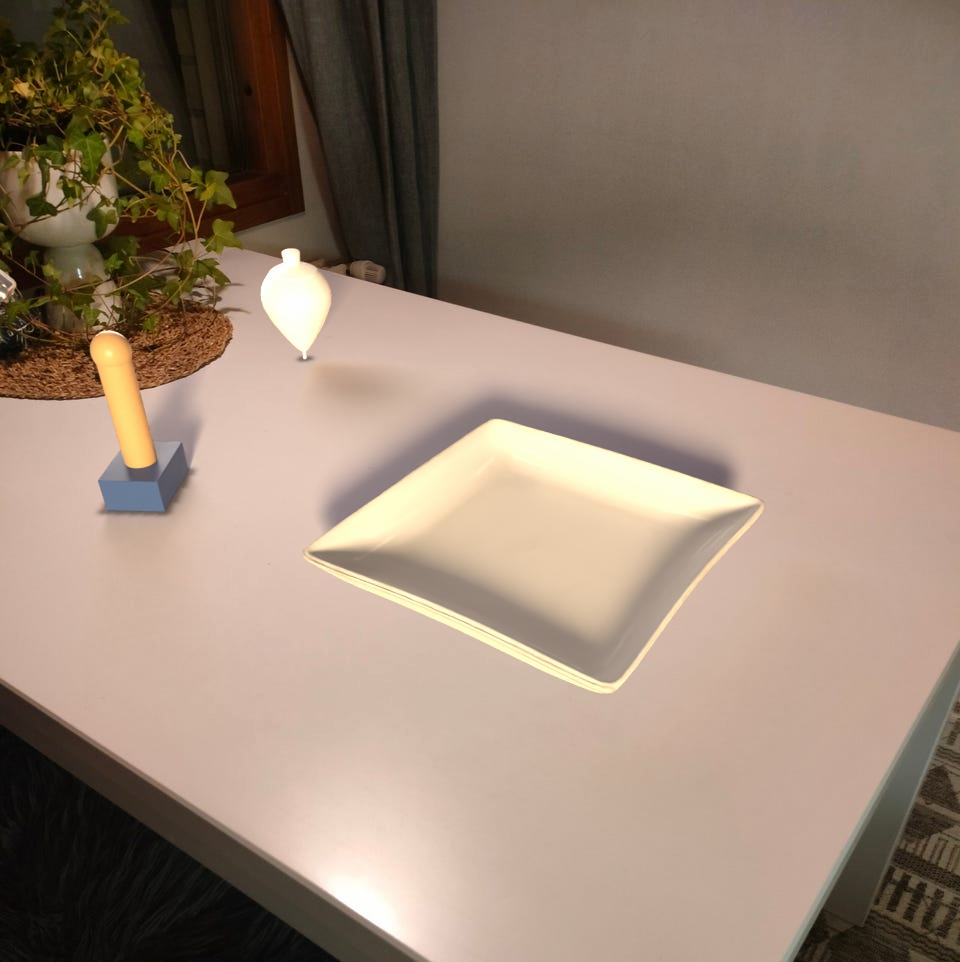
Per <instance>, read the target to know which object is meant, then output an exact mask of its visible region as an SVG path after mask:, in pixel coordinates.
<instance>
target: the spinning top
mask: <svg viewBox="0 0 960 962" xmlns="http://www.w3.org/2000/svg"><path fill="white" fill-rule="evenodd" d="M281 257H282V260H283V262H281V263H279V264H277V265H275V266H273V267H272V268H271V269H269V271H268V273H267V275H266V276H265V278H264V279H263V282H262V285H261V288H260V299H261V300H260V301H261V304H262V307H263V309H264V311H265V313H266V314H267V316H268V318H269V319H270V321H271V322H272V323H273V325H274V326H275V327H276V328H277V329H278V331H279V332H280V333H281V334H282V335H283V336H284V337H285V338H286V339H287V340H288V342H290V343H291V344H292V345H293V346H294V347H295V348H296V349H297V350H299V351H300V352H302V359H303V360H306V359H307V351H309V350H310V348H311V347H312V345H313V344H314V342H315V341H316V339H317V338H318V335H319V334H320V332H321V330H322V328H323V326H324V325H325V323H326V320H327V317H328V315H329V312H330V309H331V306H332V301H333V295H332V294H333V293H332V288H331V285H330V283H329V281H328V279H327V278H326V277H325V275H324V274H323V273H322V272H321V271H320V269H319V270H318V268H317V266H315V265H313V264H311V263H308V262H304V261H301V251H300V250H299V249H297V248H294V247H293V248H285V249H283V250H282V251H281Z"/></svg>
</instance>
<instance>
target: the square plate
mask: <svg viewBox="0 0 960 962" xmlns="http://www.w3.org/2000/svg"><path fill="white" fill-rule="evenodd" d="M765 507H766V504H765V502H764V501H763V500H762V499H761V498H758V497H755V496H753V495H750V494H747V493H744V492H741V491H737V490H734V489H731V488H728V487H725V486H722V485H719V484H716V483H714V482H710V481H707V480H704V479H701V478H698V477H695V476H693V475H689V474H686V473H683V472H680V471H677V470H674V469H670V468H668V467H665V466H662V465H658V464H655V463H652V462H649V461H646V460H642V459H639V458H637V457H633V456H630V455H627V454H624V453H620V452H616V451H613V450H610V449H607V448H603V447H600V446H596V445H594V444H590V443H587V442H583V441H580V440H577V439H573V438H570V437H567V436H563V435H559V434H555V433H552V432H548V431H546V430H541V429H538V428H534V427H532V426H527V425H524V424H520V423H517V422H514V421H510V420H506V419H504V418H503V419H502V418H496V417H495V418H491V419H487V421H485V422H483V423H482V424H480V425H479V426H477V427H476V428H473V430H471V431H470V432H468V433H466V434H464V435H463V436H462V437H461V438H459V439H458V440H455V442H453V443H452V444H450V445H449V446H447V447H446V448H444V449H443V450H441V451H440V452H438V453H437V454H436V455H434V456H433V457H431V458H429V459H428V460H427V461H426V462H424V463H422V464H421V465H420V466H418V467H417V468H414V470H412V471H411V472H410V473H408V474H406V475H405V476H404V477H402V478H401V479H399V480H398V481H397V482H395V483H393V484H392V485H391V486H390V487H388V488H387V489H385V490H383V491H382V492H381V493H380V494H378V495H377V496H376V497H374V498H372V499H370V501H368V502H367V503H365V504H363V505H362V506H361V507H360V508H358V509H357V510H356V511H354V512H352V513H351V514H350V515H348V516H347V517H346V518H344V519H343V520H341V521H340V522H338V523H337V524H335V525H334V526H333V527H332V528H330V529H329V530H327V531H326V532H324V533H323V534H322V535H321V536H319V537H318V538H316V539H315V540H314V541H313V542H311V543H310V544H309V545H308V546H306V547H305V548H303V550H302V552H301V556H302V557H303V558H304V560H306V561H307V562H309V563H311V564H312V565H314V566H316V567H317V568H318V569H321V570H323V571H324V572H326V573H328V574H330V575H332V576H334V577H335V578H338V579H340V580H342V581H344V582H346V583H349V584H351V585H352V586H355V587H357V588H359V589H362V590H364V591H367V592H369V593H372V594H374V595H377V596H380V597H381V598H384V599H386V600H389V601H392V602H394V603H397V604H399V605H400V606H403V607H405V608H407V609H411V610H412V611H415V612H417V613H419V614H421V615H423V616H426V617H428V618H430V619H433V620H435V621H437V622H439V623H441V624H444V625H446V626H447V627H451V628H453V629H455V630H457V631H460V632H462V633H463V634H466V635H467V636H470V637H472V638H474V639H476V640H478V641H480V642H482V643H484V644H487V645H489V646H491V647H493V648H495V649H497V650H498V651H501V652H503V653H505V654H507V655H509V656H511V657H514V658H515V659H517V660H519V661H522V662H524V663H526V664H527V665H529V666H532V667H534V668H536V669H537V670H540V671H542V672H544V673H547V674H548V675H551V676H554V677H556V678H557V679H558V678H559V679H560V680H563V681H565V682H568V683H570V684H573V685H575V686H577V687H580V688H583V689H585V690H588V691H591V692H595V693H598V694H613V693H615V692H616V691H617V690H618V689H620V687H622V685H624V683H625V682H626V681H627V680H628V679H629V677H630V676H631V675H632V674H633V673H634V671H635V670H636V669H637V667H638V665H640V663H641V661H643V659H644V657H645V656H646V654H647V653H649V651H650V649H651V648H652V647H653V645H654V643H655V642H656V641H657V639H658V638H659V637H660V635H661V634H662V632H663V631H664V629H665V628H666V627H667V625H668V624H669V623H670V621H671V620H672V618H674V616H675V615H676V613H677V612H678V610H679V609H680V608H681V607H682V605H683V604H684V602H685V601H686V600H687V599H688V597H689V596H690V595H691V593H692V592H693V591H694V590H695V588H696V587H697V586H698V584H699V583H700V582H701V581H702V580H703V579H704V577H705V576H706V575H707V574H708V572H710V570H711V569H712V568H713V567H714V566H715V565H716V564H717V562H719V561H720V560H721V558H722V557H723V556H724V555H725V554H726V553H727V552H728V551H729V550H730V548H732V547H733V546H734V545H735V543H737V541H738V540H739V539H740V538H741V537H742V536H743V535H744V534H745V533H746V532H747V531H748V530H749V529H750V528H751V527H752V525H753V524H755V522H756V521H758V519H759V518H760V516H761V515H762V514H763V512H764V509H765Z"/></svg>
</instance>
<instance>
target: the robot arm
mask: <svg viewBox="0 0 960 962" xmlns="http://www.w3.org/2000/svg"><path fill="white" fill-rule="evenodd" d="M16 288H17V282H16V281H15V279H14V278H12V277H11V276H9V274H7V273H6V272H4V270H2V269H1V268H0V303H2V302H5V300H6V299H8V298H9V297H10V296H12V294H13V293H14V291H15V289H16Z"/></svg>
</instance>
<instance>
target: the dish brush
mask: <svg viewBox="0 0 960 962" xmlns="http://www.w3.org/2000/svg"><path fill="white" fill-rule="evenodd" d="M89 354H90V357H91V359H92V361H93V362H94V363H95V365H96V369H97V372H98V375H99V379H100V383H101V385H102V390H103V393H104V396H105V400H106V403H107V406H108V410H109V414H110V418H111V421H112V424H113V427H114V432H115V434H116V437H117V441H118V445H119V448H120V449H119V451H118V452H117V454H116V455H115V456H114V457H113V459H112V460H111V462H110V463H109V464H108V465H107V467H106V469H105V470H104V472H103V473H102V474H101V476H100V477H99V478H98V480H97V484H98V485H99V489H100V492H101V495H102V499H103V501H104V505H105V509H106V511H117V512H118V511H119V512H120V511H122V512H124V511H125V512H166V511H167V509H168V507H169V505H170V504H171V502H172V500H173V499H174V497H175V495H176V493H177V491H178V490H179V488H180V486H181V485H182V483H183V481H184V480H185V478H186V476H187V475H188V473H189V465H188V461H187V458H186V457H187V456H186V453H185V449H184V444H183V442H182V441H156V440H154V439H153V435H152V431H151V428H150V427H151V426H150V423H149V420H148V416H147V413H146V408H145V404H144V402H143V398H142V393H141V389H140V386H139V382H138V381H139V380H138V379H137V374H136V370H135V366H134V363H133V348H132V346H131V344H130V342H129V340H128V339H127V337H125V336H124V335H122V334H121V333H119V332H117V331H114V330H103V331H100V332H99V333H97V334H96V335H95V336H93V338H92V340H91V342H90V345H89Z"/></svg>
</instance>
